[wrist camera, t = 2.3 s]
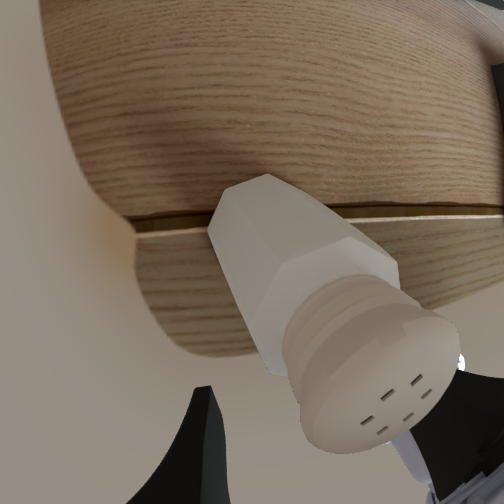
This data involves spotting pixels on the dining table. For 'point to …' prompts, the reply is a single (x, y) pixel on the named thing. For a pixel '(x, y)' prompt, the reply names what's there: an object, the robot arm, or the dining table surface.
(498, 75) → the scale
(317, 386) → the pepper shaker
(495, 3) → the phone
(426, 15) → the dining table surface
